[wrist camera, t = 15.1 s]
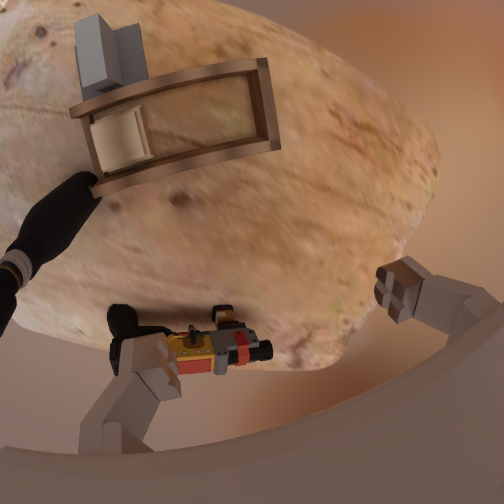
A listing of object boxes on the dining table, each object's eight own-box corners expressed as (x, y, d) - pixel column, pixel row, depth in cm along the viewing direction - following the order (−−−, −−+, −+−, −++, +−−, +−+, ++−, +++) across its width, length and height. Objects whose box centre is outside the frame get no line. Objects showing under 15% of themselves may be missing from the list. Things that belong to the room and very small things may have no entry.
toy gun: (246, 316, 59) (271, 369, 46) (111, 323, 49) (106, 384, 37) (250, 291, 56) (278, 344, 43) (106, 297, 46) (97, 358, 34)
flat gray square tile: (85, 103, 31) (84, 103, 30) (75, 47, 26) (74, 46, 25) (149, 81, 32) (148, 81, 32) (139, 24, 27) (138, 23, 27)
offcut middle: (107, 169, 35) (103, 172, 33) (95, 123, 31) (90, 124, 29) (152, 153, 36) (151, 156, 34) (141, 107, 32) (138, 107, 30)
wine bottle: (61, 199, 36) (-46, 326, 11) (76, 164, 35) (-50, 264, 9) (92, 217, 39) (14, 365, 14) (109, 183, 38) (19, 312, 12)
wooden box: (104, 187, 38) (94, 198, 33) (83, 108, 31) (68, 108, 26) (268, 144, 41) (281, 149, 36) (254, 64, 35) (266, 57, 29)
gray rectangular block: (104, 92, 31) (82, 87, 22) (95, 40, 26) (73, 23, 17) (123, 85, 31) (107, 78, 22) (115, 33, 26) (98, 13, 18)
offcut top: (105, 167, 33) (101, 170, 31) (94, 126, 29) (90, 127, 28) (146, 153, 33) (144, 156, 32) (136, 111, 30) (133, 111, 29)
